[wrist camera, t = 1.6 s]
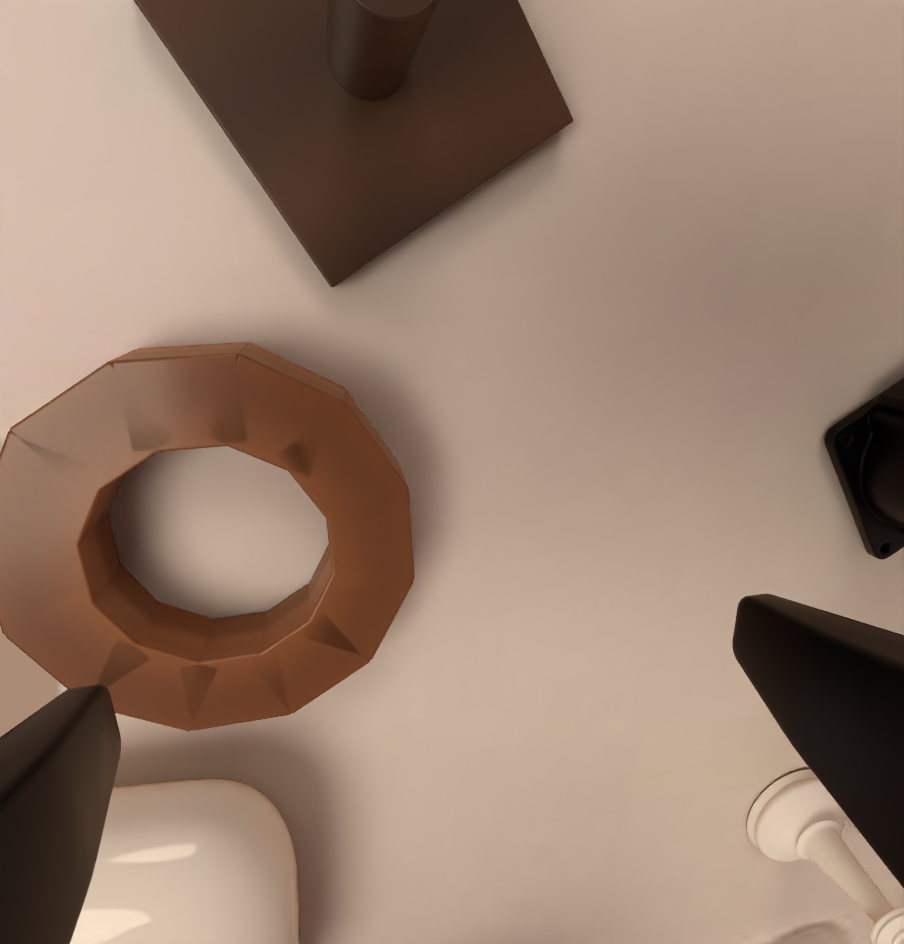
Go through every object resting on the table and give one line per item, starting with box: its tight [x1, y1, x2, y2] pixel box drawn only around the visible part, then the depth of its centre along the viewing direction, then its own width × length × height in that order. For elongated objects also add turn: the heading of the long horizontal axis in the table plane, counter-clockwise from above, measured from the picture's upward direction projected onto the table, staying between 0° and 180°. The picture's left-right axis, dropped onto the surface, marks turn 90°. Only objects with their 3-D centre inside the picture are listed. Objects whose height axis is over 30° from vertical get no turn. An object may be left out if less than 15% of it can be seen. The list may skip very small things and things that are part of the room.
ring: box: [0, 342, 414, 731], centre depth 18 cm, size 11×11×2 cm
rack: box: [134, 0, 573, 287], centre depth 13 cm, size 8×8×6 cm
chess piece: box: [747, 769, 904, 944], centre depth 24 cm, size 5×5×10 cm
